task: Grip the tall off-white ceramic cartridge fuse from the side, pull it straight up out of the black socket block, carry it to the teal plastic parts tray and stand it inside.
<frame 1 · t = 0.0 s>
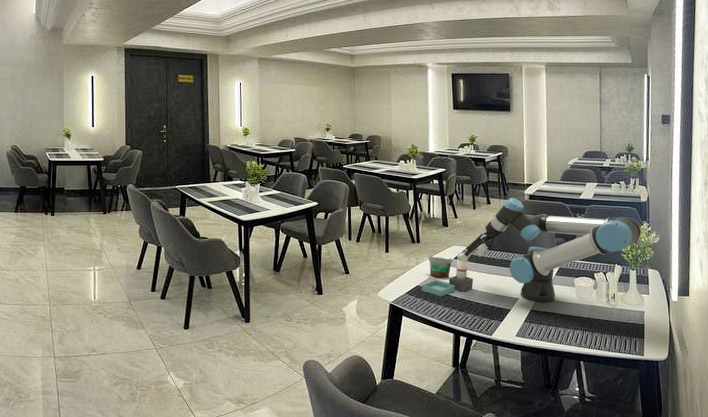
hand: (470, 257, 278), 15 cm above the table, tool tilted 35°, fingers open, 13 cm apart
fuse: (460, 284, 280), point 2 cm above the table, touching socket block
socket block: (460, 288, 280), on the table
parts tray: (438, 291, 275), on the table
food container: (437, 277, 297), on the table
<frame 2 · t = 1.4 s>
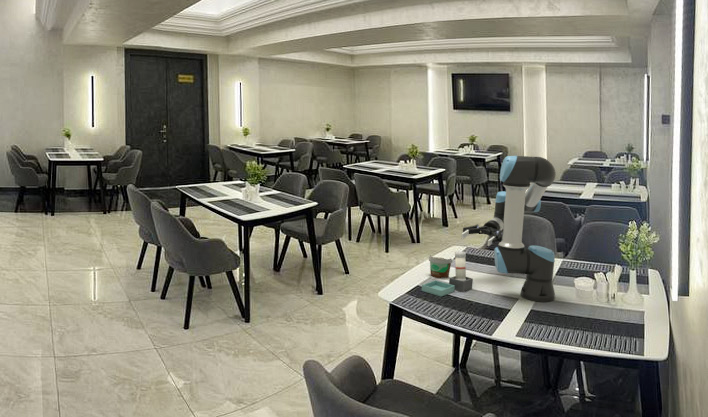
hand: (475, 239, 278), 23 cm above the table, tool horizontal, fingers open, 13 cm apart
fuse: (460, 283, 280), point 2 cm above the table, tilted 11°, touching socket block
everything else where it was.
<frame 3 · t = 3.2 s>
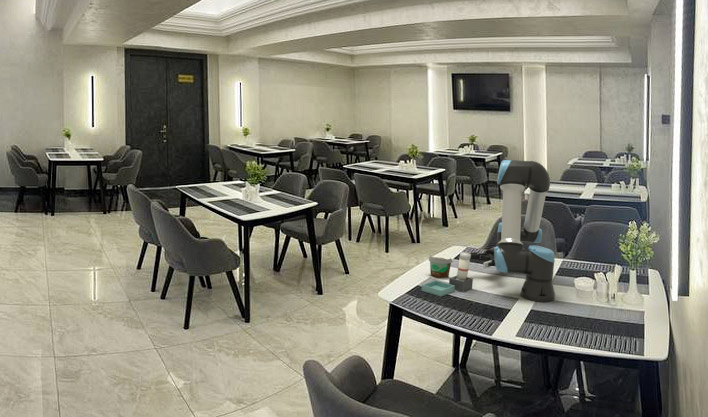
hand: (471, 262, 285), 11 cm above the table, tool horizontal, fingers open, 13 cm apart
fuse: (460, 283, 280), point 2 cm above the table, tilted 5°, touching socket block
everything else where it was.
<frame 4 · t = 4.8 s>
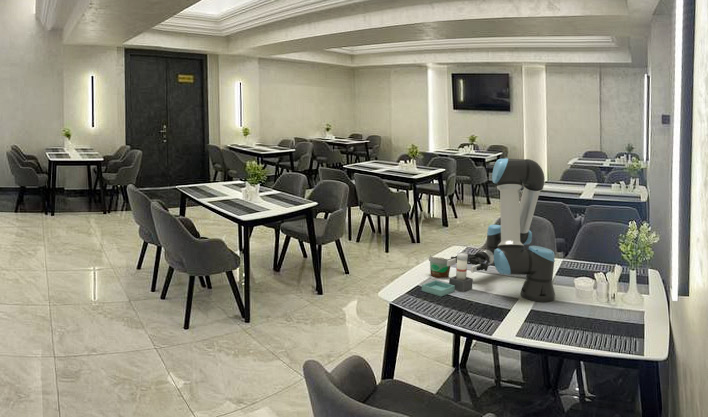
hand: (459, 266, 277), 11 cm above the table, tool horizontal, fingers open, 13 cm apart
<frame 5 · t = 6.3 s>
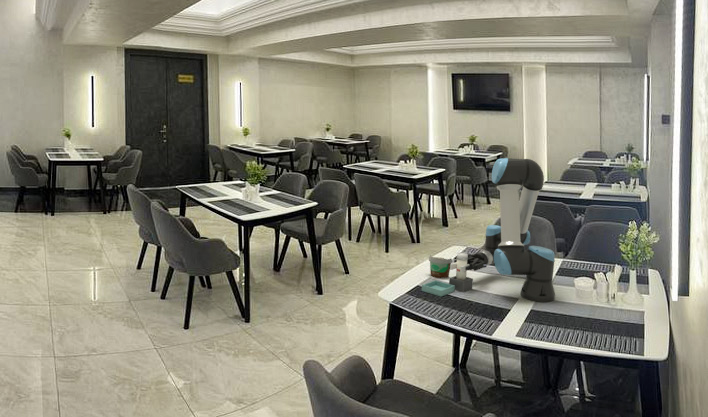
hand: (455, 268, 274), 11 cm above the table, tool horizontal, fingers closed on fuse, 5 cm apart
fuse: (460, 284, 280), point 2 cm above the table, touching gripper, socket block
everything else where it was.
when the fingers open (11 cm above the table, at t = 12.8 s): fuse moves 1 cm, resting on parts tray.
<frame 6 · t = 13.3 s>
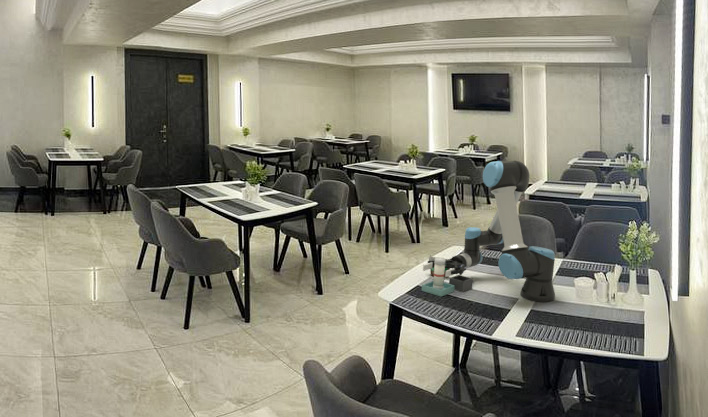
hand: (434, 270, 270), 11 cm above the table, tool horizontal, fingers open, 12 cm apart
fuse: (438, 289, 275), point 1 cm above the table, touching parts tray
everything else where it was.
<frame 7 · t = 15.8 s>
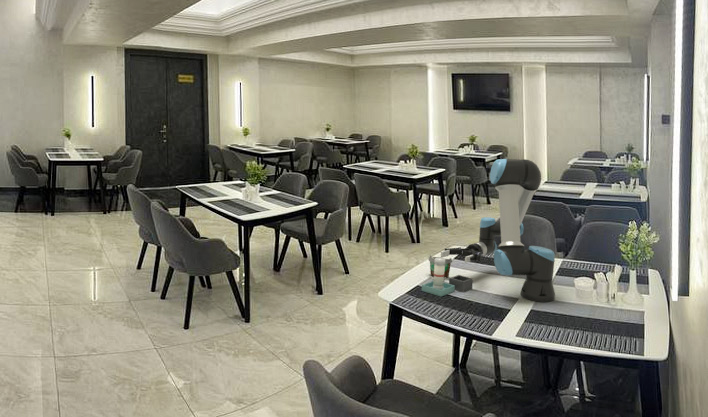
hand: (453, 257, 280), 14 cm above the table, tool horizontal, fingers open, 13 cm apart
nothing on the table moved.
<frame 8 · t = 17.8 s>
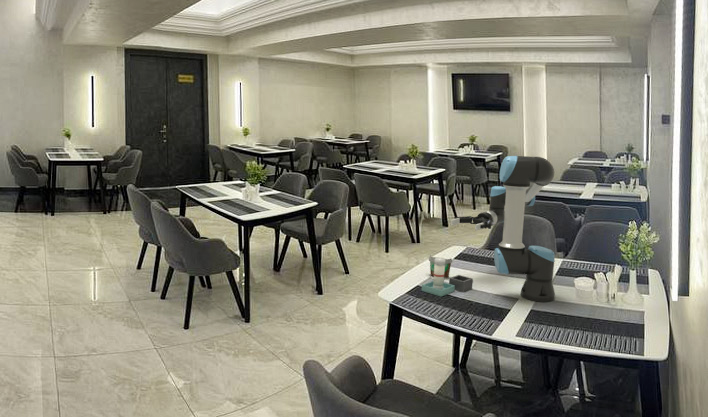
hand: (463, 225, 279), 30 cm above the table, tool horizontal, fingers open, 13 cm apart
nothing on the table moved.
at the end: fuse inside the target area on the parts tray (0.1 cm from its centre), point 0.6 cm above the parts tray's base; fuse tilted 0°; the gripper is holding nothing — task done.
